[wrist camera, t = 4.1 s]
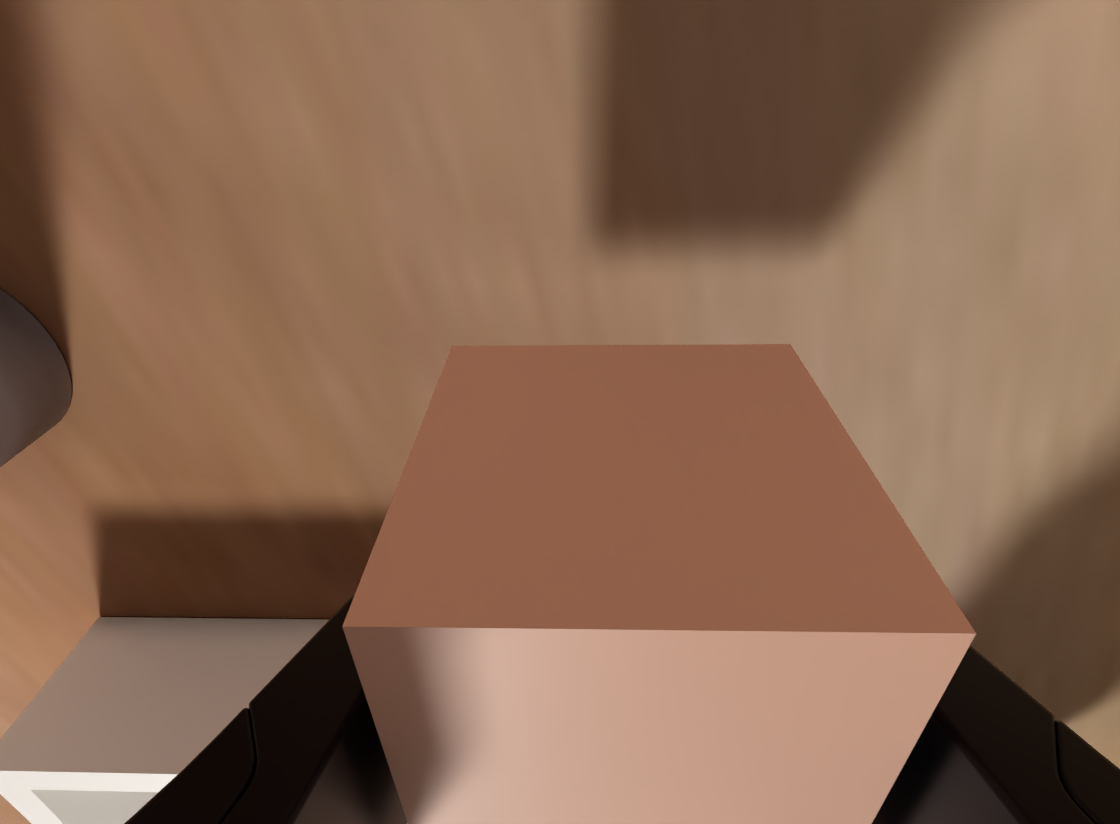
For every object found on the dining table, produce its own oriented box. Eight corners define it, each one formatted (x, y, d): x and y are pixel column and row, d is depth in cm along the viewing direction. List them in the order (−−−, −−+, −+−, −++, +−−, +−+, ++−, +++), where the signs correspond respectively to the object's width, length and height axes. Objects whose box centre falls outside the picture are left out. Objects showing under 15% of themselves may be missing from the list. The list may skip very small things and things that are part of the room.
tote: (631, 622, 20) (645, 783, 16) (618, 823, 28) (624, 967, 23) (98, 616, 21) (-25, 770, 16) (229, 814, 28) (168, 953, 24)
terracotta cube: (790, 343, 9) (976, 633, 5) (741, 578, 12) (832, 895, 7) (452, 345, 9) (343, 626, 5) (481, 577, 12) (428, 883, 8)
